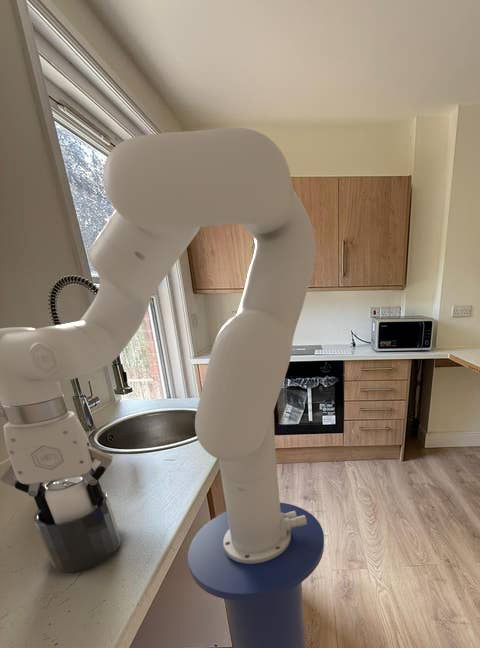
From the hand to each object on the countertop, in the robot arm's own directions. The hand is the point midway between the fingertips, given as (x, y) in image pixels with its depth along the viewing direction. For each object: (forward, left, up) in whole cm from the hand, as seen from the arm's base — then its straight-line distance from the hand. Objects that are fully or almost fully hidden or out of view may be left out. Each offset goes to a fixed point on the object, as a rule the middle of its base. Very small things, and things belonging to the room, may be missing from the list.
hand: (73, 505), depth 61 cm
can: (0, 0, -7) cm, 7 cm away
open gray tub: (0, 0, -10) cm, 10 cm away
